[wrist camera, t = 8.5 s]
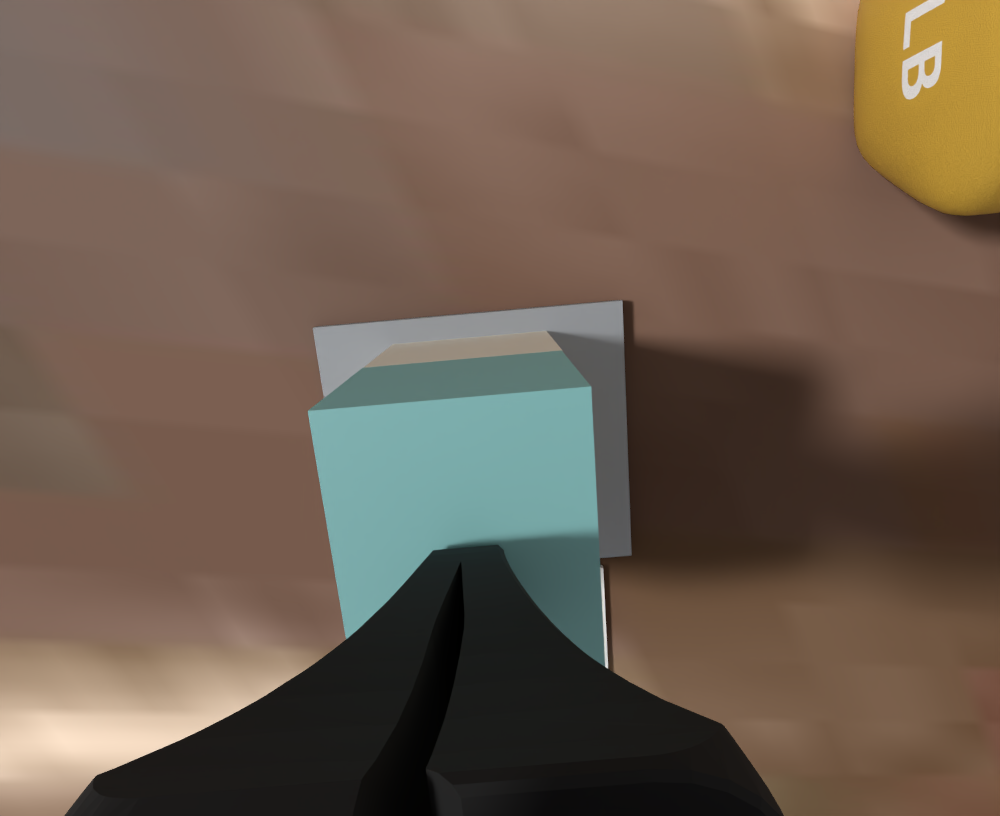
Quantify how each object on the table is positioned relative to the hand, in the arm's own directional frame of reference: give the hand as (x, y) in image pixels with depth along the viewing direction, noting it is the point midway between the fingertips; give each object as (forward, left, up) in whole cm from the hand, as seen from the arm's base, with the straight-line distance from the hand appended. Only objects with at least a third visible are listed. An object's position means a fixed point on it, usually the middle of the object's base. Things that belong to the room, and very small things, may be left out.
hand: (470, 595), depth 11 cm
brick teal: (0, 0, -5) cm, 5 cm away
